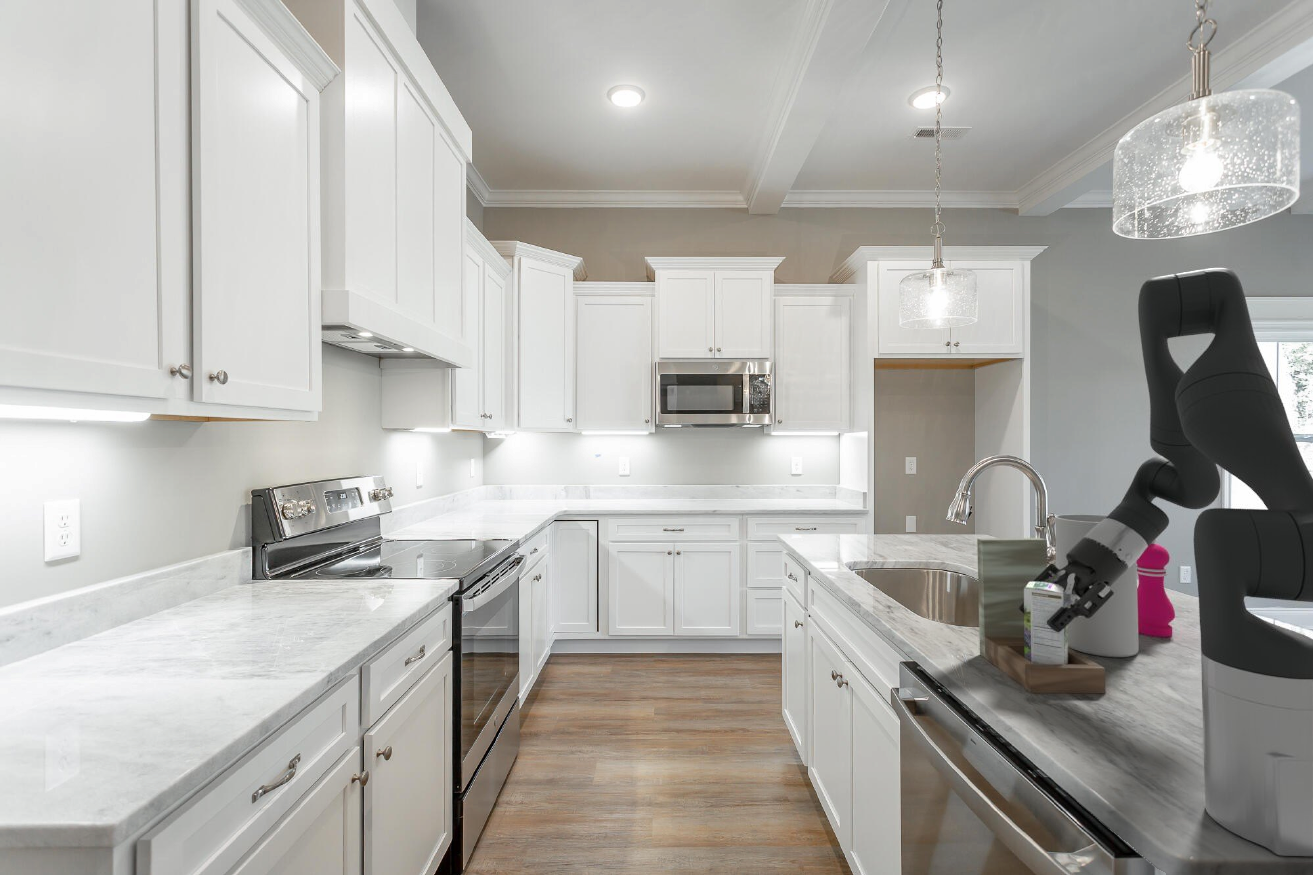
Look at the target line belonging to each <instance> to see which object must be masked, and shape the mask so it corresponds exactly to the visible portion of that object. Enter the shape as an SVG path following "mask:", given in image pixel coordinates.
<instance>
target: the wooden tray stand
mask: <svg viewBox="0 0 1313 875" xmlns="http://www.w3.org/2000/svg"><path fill="white" fill-rule="evenodd" d="M976 541H977V542H976V543H977V546H976V548H977V581H978V582H977V584H978V585H977V587H978V625H979V626H978V628H979V629H978V630H979V631H978V632H979V633H978V634H979V655H980V656H981V657H983V658H986V659H985V660H987V661H988V662H990V664H992V665H993V664H994V665H993V666H994V667H996V668H997V669H998V670H1000V671H1001V672H1002V673H1004V674H1005V673H1006V674H1005V675H1007V676H1008V677H1009V678H1011V679H1012V680H1013V681H1014V682H1016V683H1017V684H1019V685H1020V686H1021V687H1022V688H1024V689H1026V690H1027V691H1029V693H1033V694H1034V693H1035V694H1036V693H1039V694H1106V692H1107V691H1106V688H1107V687H1106V686H1107V684H1106V668H1105V667H1104V666H1102V665H1101V664H1098V663H1097V662H1095V661H1093V660H1091V659H1090V658H1087V657H1086V656H1084V655H1082V654H1080V653H1079V652H1078V651H1076V650H1074V649H1071V648H1069V647H1068V664H1033V663H1032V662H1030V661H1029V660H1027V659H1026V658H1025V645H1024V613H1022V612H1021V611H1020V609H1019V607H1020V606H1021V605H1022V604H1023V603H1024V588H1025V587H1026V586H1027V584H1028V583H1029V582H1033V581H1034V580H1035V579H1036V578H1037V577H1038V576H1039V575H1040V574H1041V573H1042V572H1043V571H1044V570H1045V569H1046V568H1047V567H1048V546H1047V545H1048V543H1047V542H1048V541H1047V539H1045V538H1041V537H1019V538H1018V537H1014V538H1013V537H1012V538H1011V537H1009V538H1008V537H1006V538H997V537H993V538H989V537H988V538H977V539H976Z"/></svg>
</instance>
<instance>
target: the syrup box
mask: <svg viewBox="0 0 1313 875" xmlns="http://www.w3.org/2000/svg"><path fill="white" fill-rule="evenodd" d="M1065 591H1066V590H1064V588H1063V587H1061V586H1059V585H1058V584H1053V583H1046V582H1029V583H1028V584H1027V586H1026V587H1025V588H1024V645H1025V658H1026V659H1027V660H1029V661H1030V662H1032V663H1033V664H1068V648H1069V647H1068V625H1067V626H1066V627H1065V628H1064V629H1062V630H1061V631H1060V632H1056V631H1054V630H1053V629H1052V628H1051V627H1049V626H1048V625H1047V621H1048V620H1049V619H1050V618H1051V617H1052V616H1053V615H1054V614H1055V613H1056V612H1057V611H1058V610H1059V609H1060V608H1061V607H1063V608H1065V607H1064V604H1065V601H1066V596H1065Z"/></svg>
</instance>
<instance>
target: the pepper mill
mask: <svg viewBox="0 0 1313 875" xmlns="http://www.w3.org/2000/svg"><path fill="white" fill-rule="evenodd" d="M1169 562H1170V554H1169V551H1168V550H1167V549H1166V548H1165V547H1163V546H1162V545H1160V544H1156V539H1155V540H1154V541H1153V542H1152V543H1151V544H1150V545H1149V546H1148V547H1147V548H1146V549H1145V550H1144V552H1143V553H1142V555H1141V556H1140V557H1139V558H1138V559H1137V560H1136V564H1137V577H1138V578H1137V579H1138V584H1137V604H1138V634H1140V635H1146V636H1150V637H1155V638H1169V637H1170V638H1171V637H1172V636H1173V626H1172V625H1170V623H1171V622H1172V621H1173V620H1174V619H1175V617H1176V612H1175V607H1174V605H1173V603H1172V602H1171V600H1170V598H1169V597H1168V594H1167V593H1166V589H1165V583H1164V582H1165V577H1166V576H1167V574H1168V573H1167V568H1165V567H1166V566H1167V565H1168V564H1169Z"/></svg>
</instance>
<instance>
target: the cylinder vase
mask: <svg viewBox="0 0 1313 875" xmlns="http://www.w3.org/2000/svg"><path fill="white" fill-rule="evenodd" d="M1107 516H1108V515H1101V514H1084V513H1083V514H1081V513H1080V514H1079V513H1077V514H1072V513H1071V514H1058V515H1057V514H1056V515H1055V516H1054V526H1055V527H1054V529H1055V530H1054V533H1055V534H1054V538H1055V566H1056V567H1057V568H1058V569H1062V568H1064V567H1065V566H1066V565H1068V560H1067V559H1066V555H1067V553H1068V552H1069V551H1070V550H1071V549H1072V548H1073V547H1074V546H1075V545H1076V544H1077V543H1078V542H1079V541H1080V540H1081V539H1082V538H1083V537H1084V536H1085V535H1086V534H1087V533H1088V532H1089V531H1090V530H1091V529H1092V528H1094V527H1095V526H1096V525H1097V524H1099V523H1100V522H1101V521H1103V520H1104V519H1105V518H1106V517H1107ZM1137 577H1138V573H1137V563H1136V561H1135V562H1134V563H1133V564H1132V565H1131V566H1130V567H1129V568H1128V569H1127V570H1126V571H1125V572H1124V573H1123V574H1122V575H1121V576H1120V577H1119V578H1118V579H1117V580H1116V581H1115V582H1114V583H1113V584H1112V585H1111V586H1109V588H1110V589H1111V590H1112V591H1113V592H1114V594H1113V595H1112V596H1111V597H1110V598H1109V599H1108V600H1107V601H1106V602H1105V603H1104V604H1103V606H1102V607H1101V608H1100V609H1099V610H1098V611H1097V612H1096V613H1095V614H1094V615H1093V616H1092V617H1090V618H1085V617H1084V616H1081V617H1079V618H1076V617H1075V618H1074V619H1073V620H1072V621H1071V622H1070V623H1069V624H1068V648H1070V649H1071V650H1073V651H1076V652H1080V653H1084V654H1089V655H1092V656H1099V657H1106V658H1127V657H1132V656H1135V655H1136V654H1138V652H1139V649H1140V647H1139V646H1140V645H1139V633H1138V604H1137V588H1138V578H1137ZM1091 605H1092V603H1091V602H1090V601H1089V602H1088V606H1087V607H1086V608H1087V609H1088V608H1089V607H1090V606H1091Z"/></svg>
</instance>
